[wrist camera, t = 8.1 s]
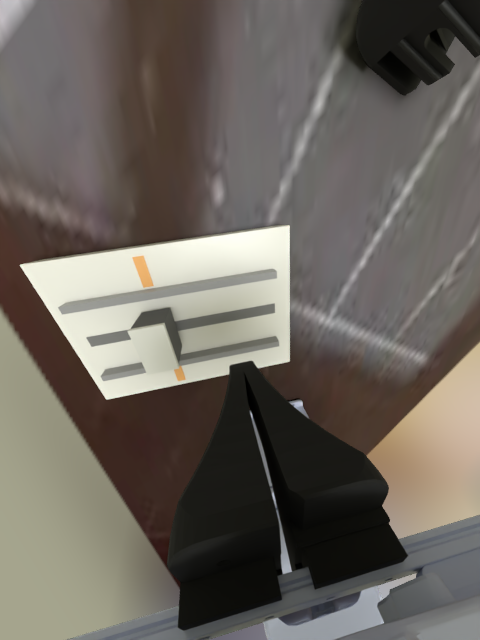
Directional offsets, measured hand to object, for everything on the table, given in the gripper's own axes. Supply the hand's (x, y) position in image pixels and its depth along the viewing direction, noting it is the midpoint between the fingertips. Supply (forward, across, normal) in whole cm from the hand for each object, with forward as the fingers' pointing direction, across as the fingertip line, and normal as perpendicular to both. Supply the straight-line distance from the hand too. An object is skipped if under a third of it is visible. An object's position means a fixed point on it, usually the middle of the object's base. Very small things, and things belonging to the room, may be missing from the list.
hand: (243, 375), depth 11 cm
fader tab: (+8, +6, 0) cm, 10 cm away
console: (+10, +4, 0) cm, 11 cm away
